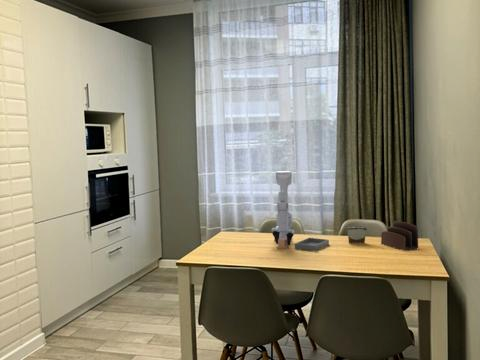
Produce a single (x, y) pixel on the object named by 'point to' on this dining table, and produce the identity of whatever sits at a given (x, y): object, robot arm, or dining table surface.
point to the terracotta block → (282, 243)
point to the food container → (356, 234)
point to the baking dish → (311, 244)
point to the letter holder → (401, 236)
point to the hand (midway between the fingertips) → (283, 244)
